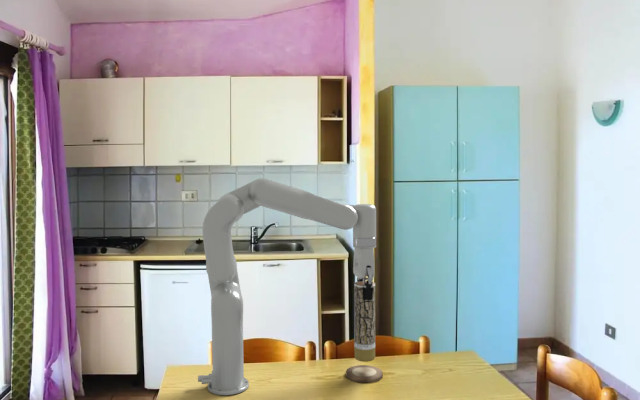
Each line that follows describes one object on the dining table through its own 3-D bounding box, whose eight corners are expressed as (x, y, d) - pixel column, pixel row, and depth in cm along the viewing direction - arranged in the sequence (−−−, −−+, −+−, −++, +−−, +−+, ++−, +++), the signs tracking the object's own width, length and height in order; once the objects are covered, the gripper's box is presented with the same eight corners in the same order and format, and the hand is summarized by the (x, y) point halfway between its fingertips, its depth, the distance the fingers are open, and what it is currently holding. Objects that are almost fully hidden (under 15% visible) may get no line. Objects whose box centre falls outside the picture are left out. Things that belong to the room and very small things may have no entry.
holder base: (350, 384, 168) (350, 380, 167) (342, 370, 179) (342, 366, 179) (387, 381, 170) (387, 377, 170) (376, 367, 181) (376, 363, 181)
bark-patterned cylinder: (374, 363, 170) (374, 286, 169) (353, 361, 172) (352, 285, 170) (376, 355, 177) (376, 281, 175) (355, 354, 178) (355, 280, 177)
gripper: (347, 239, 180) (347, 291, 181) (359, 246, 163) (360, 304, 164) (368, 238, 181) (368, 290, 182) (383, 246, 164) (383, 303, 165)
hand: (364, 296), depth 173 cm, fingers closed on bark-patterned cylinder, 6 cm apart
